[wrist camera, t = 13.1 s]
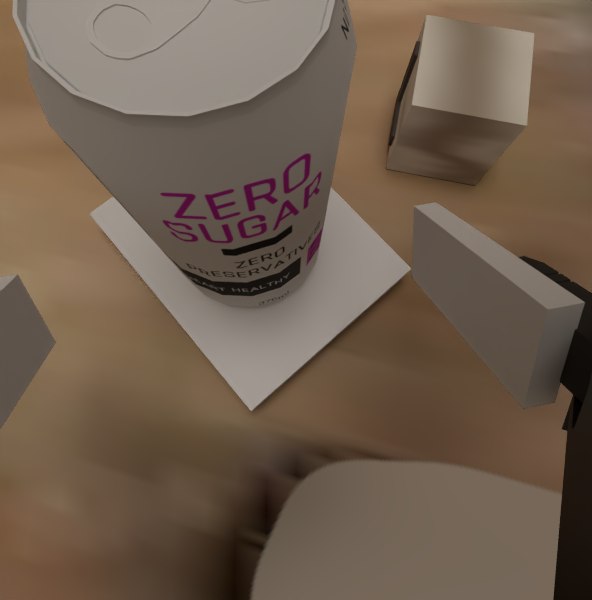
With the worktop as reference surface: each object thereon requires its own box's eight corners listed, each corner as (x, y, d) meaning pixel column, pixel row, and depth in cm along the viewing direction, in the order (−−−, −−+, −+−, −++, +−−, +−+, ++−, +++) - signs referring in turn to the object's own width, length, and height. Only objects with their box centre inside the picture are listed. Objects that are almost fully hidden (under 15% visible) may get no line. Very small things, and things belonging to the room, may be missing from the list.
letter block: (483, 109, 28) (534, 33, 22) (474, 185, 26) (526, 125, 20) (395, 93, 28) (423, 14, 22) (382, 168, 27) (408, 103, 21)
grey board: (402, 278, 25) (411, 268, 23) (254, 409, 23) (250, 411, 21) (249, 121, 27) (245, 100, 25) (104, 227, 25) (89, 213, 23)
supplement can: (247, 153, 24) (180, -204, 10) (348, 237, 23) (443, -29, 9) (149, 244, 23) (-98, -17, 8) (252, 340, 22) (172, 226, 7)
